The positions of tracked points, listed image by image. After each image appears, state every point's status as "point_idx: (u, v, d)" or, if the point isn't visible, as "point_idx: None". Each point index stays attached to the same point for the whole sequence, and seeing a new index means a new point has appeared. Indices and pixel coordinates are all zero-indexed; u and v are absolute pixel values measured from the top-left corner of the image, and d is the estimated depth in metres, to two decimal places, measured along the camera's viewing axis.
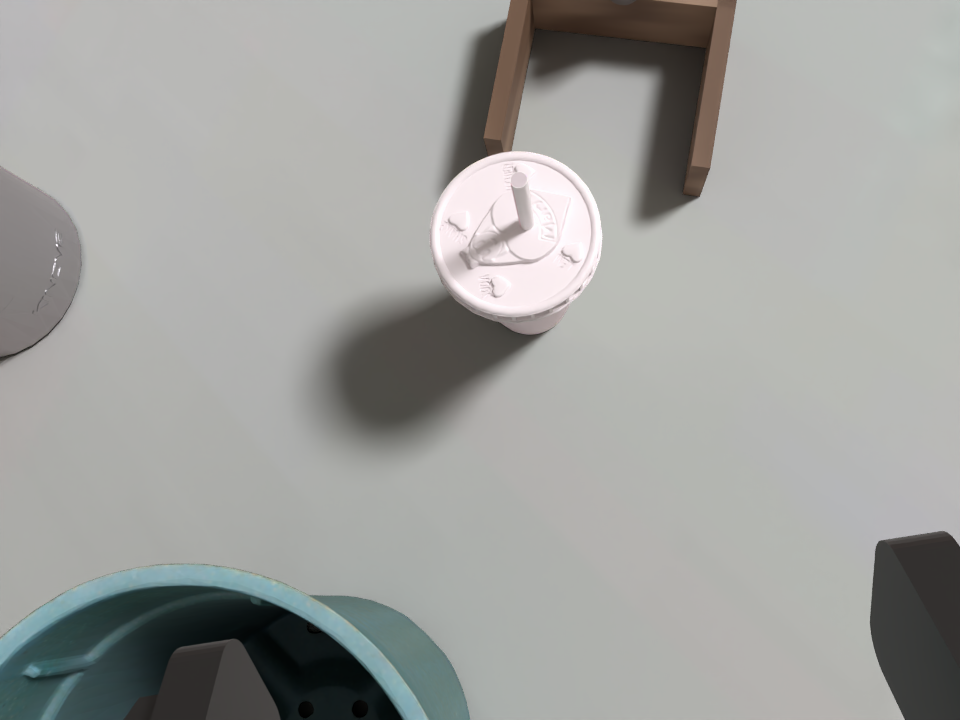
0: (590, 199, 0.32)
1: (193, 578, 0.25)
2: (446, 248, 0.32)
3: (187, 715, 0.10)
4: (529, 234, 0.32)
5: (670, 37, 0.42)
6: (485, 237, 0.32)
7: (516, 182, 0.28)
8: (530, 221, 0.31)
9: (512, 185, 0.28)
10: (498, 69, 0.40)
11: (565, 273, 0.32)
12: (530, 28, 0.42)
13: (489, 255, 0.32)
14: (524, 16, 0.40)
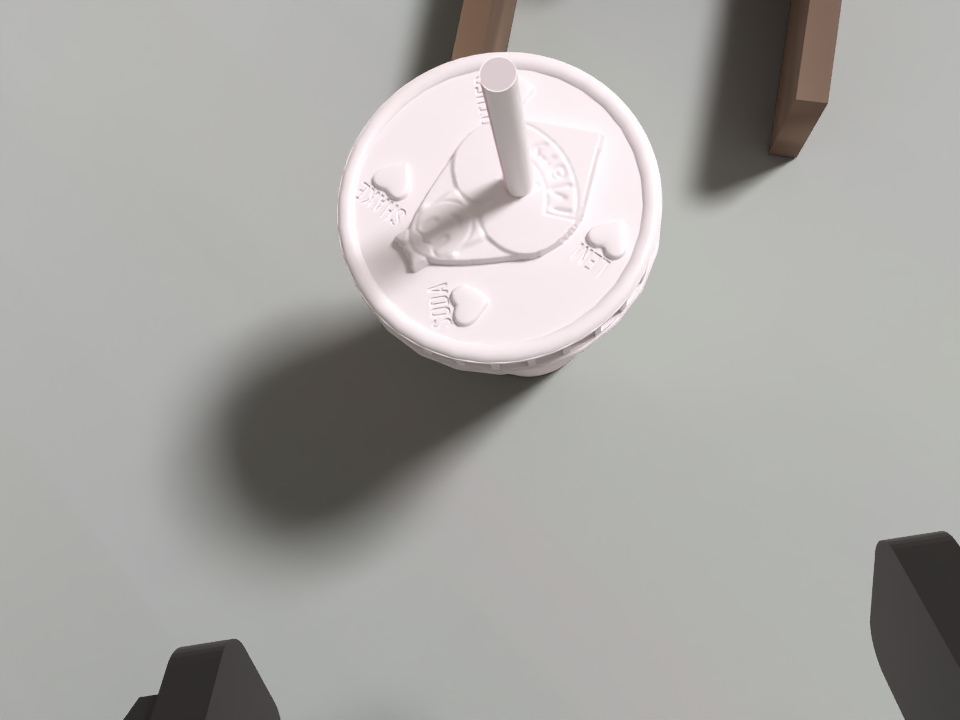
0: (640, 139, 0.17)
1: None
2: (367, 233, 0.17)
3: (187, 715, 0.10)
4: (524, 205, 0.17)
5: None
6: (440, 211, 0.17)
7: (492, 80, 0.13)
8: (525, 178, 0.16)
9: (484, 86, 0.13)
10: None
11: (593, 281, 0.16)
12: None
13: (448, 246, 0.17)
14: None
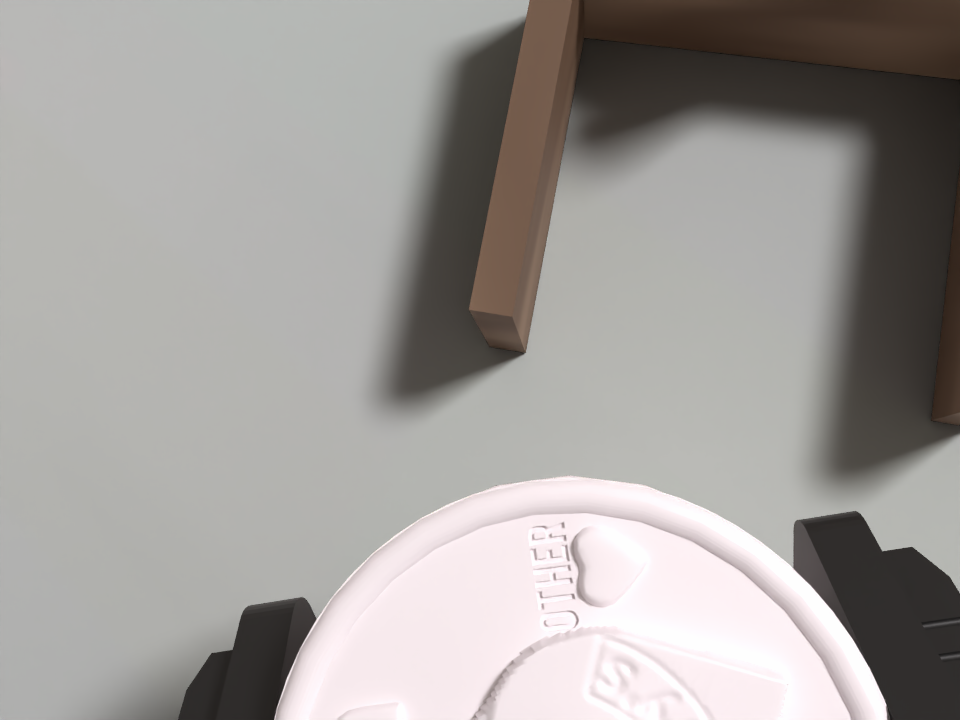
0: (860, 685, 0.08)
1: None
2: None
3: (264, 667, 0.10)
4: None
5: (892, 58, 0.19)
6: None
7: None
8: None
9: None
10: (506, 138, 0.16)
11: None
12: (577, 38, 0.19)
13: None
14: (568, 9, 0.17)
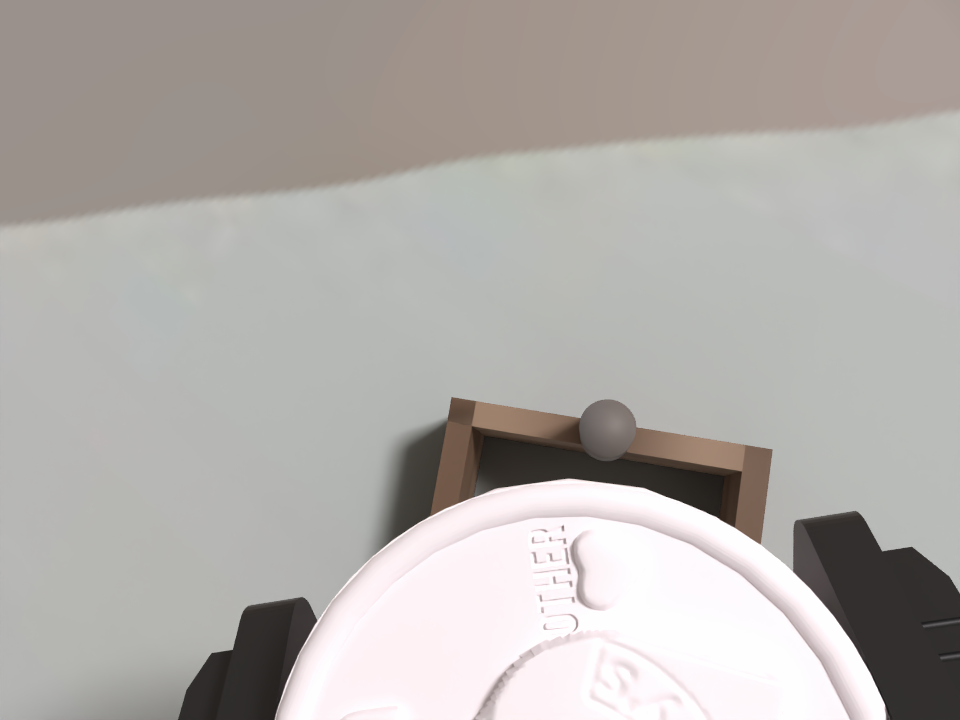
0: (862, 690, 0.08)
1: None
2: None
3: (263, 667, 0.10)
4: None
5: (673, 466, 0.30)
6: None
7: None
8: None
9: None
10: None
11: None
12: (475, 455, 0.30)
13: None
14: (462, 471, 0.28)
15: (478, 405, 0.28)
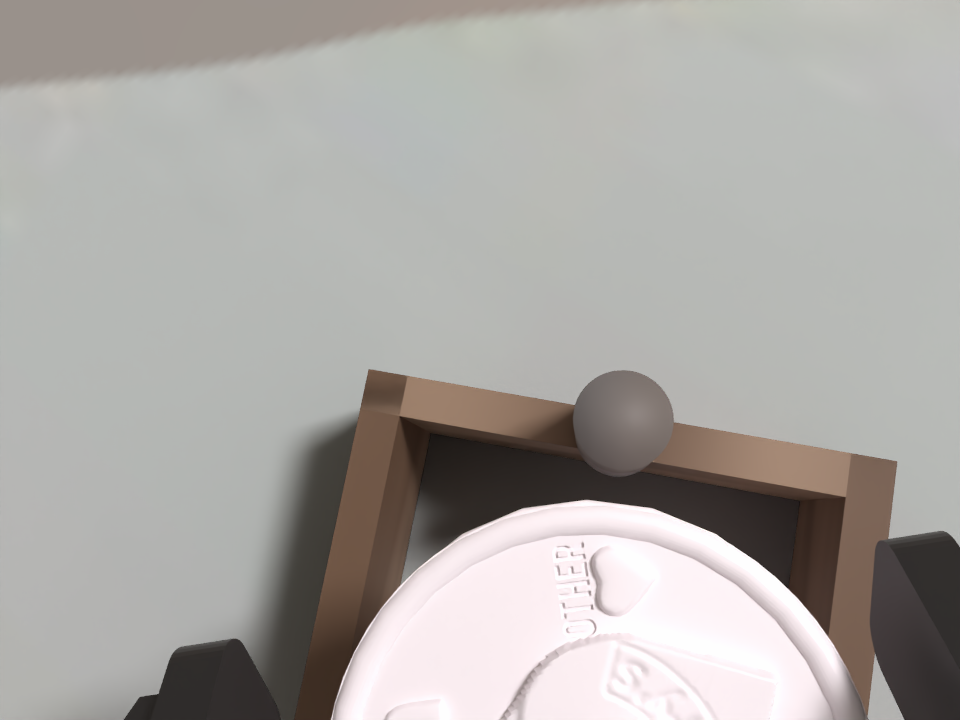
0: (840, 684, 0.10)
1: None
2: None
3: (188, 715, 0.10)
4: None
5: (721, 484, 0.19)
6: None
7: None
8: None
9: None
10: (317, 626, 0.17)
11: None
12: (412, 463, 0.19)
13: None
14: (381, 489, 0.17)
15: (411, 382, 0.17)
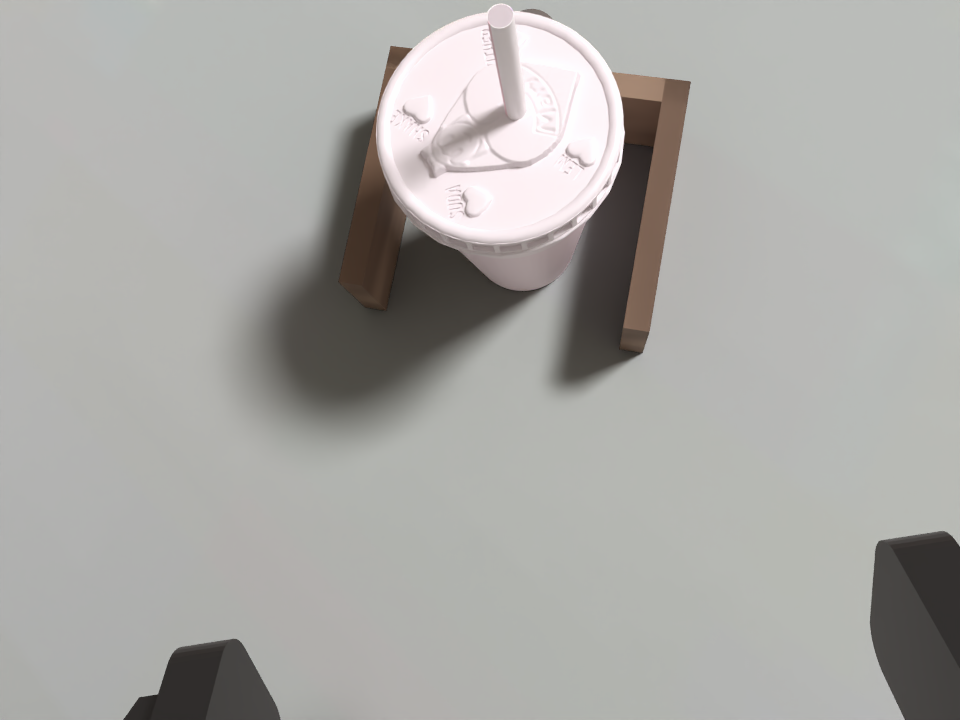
0: (607, 77, 0.22)
1: None
2: (399, 148, 0.22)
3: (187, 715, 0.10)
4: (519, 125, 0.22)
5: None
6: (455, 131, 0.22)
7: (496, 20, 0.18)
8: (520, 103, 0.21)
9: (490, 25, 0.18)
10: (361, 185, 0.29)
11: (570, 182, 0.22)
12: None
13: (461, 156, 0.22)
14: None
15: None
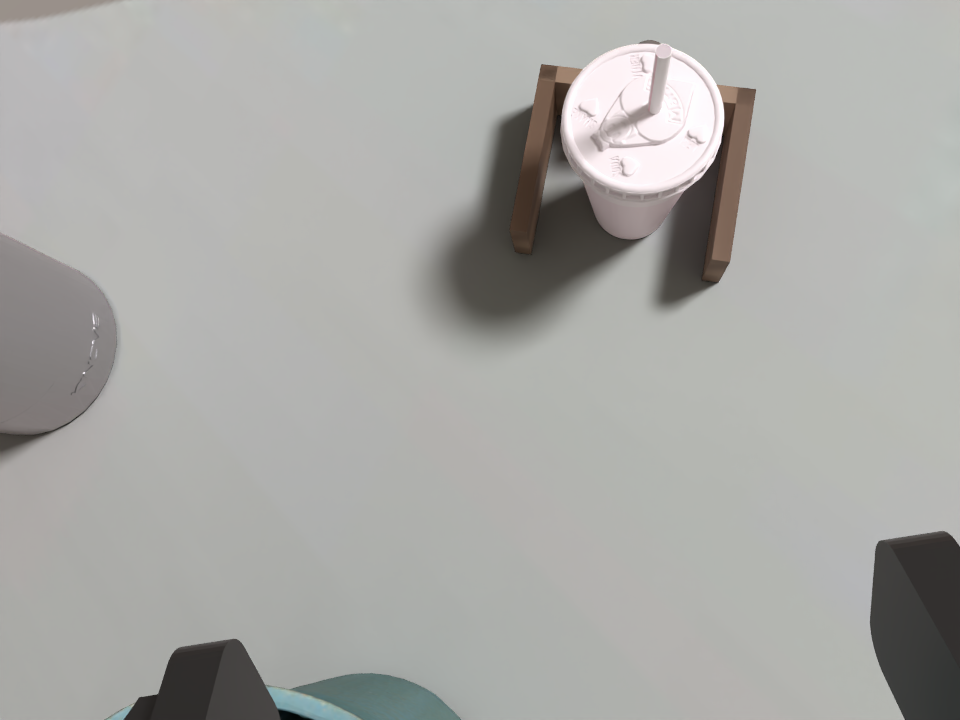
0: (712, 86, 0.34)
1: None
2: (577, 132, 0.35)
3: (187, 715, 0.10)
4: (657, 117, 0.34)
5: None
6: (615, 121, 0.34)
7: (660, 54, 0.30)
8: (660, 103, 0.33)
9: (657, 56, 0.30)
10: (523, 162, 0.41)
11: (690, 154, 0.34)
12: (553, 117, 0.44)
13: (619, 137, 0.34)
14: (548, 110, 0.41)
15: (559, 68, 0.42)
